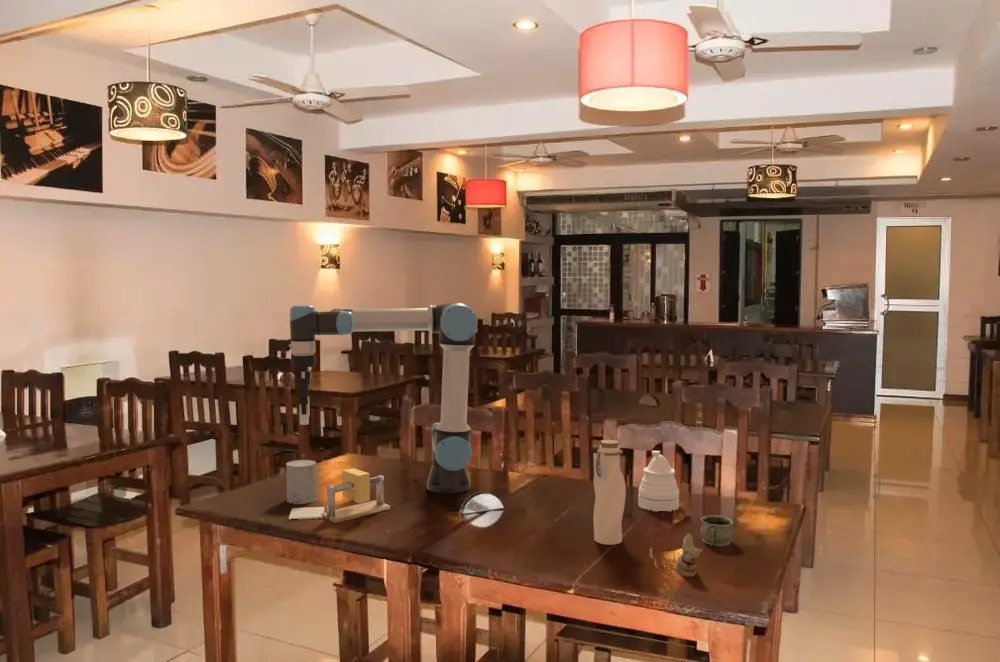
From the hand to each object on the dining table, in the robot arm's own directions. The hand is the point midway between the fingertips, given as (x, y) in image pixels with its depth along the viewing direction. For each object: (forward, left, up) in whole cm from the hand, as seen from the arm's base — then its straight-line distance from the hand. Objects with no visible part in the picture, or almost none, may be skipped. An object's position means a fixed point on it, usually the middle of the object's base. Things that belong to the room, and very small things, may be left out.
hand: (304, 420), depth 252 cm
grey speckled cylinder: (+2, -6, -28) cm, 28 cm away
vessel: (-116, +52, -28) cm, 130 cm away
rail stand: (-16, +11, -27) cm, 34 cm away
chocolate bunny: (-99, +72, -28) cm, 126 cm away
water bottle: (-86, +47, -28) cm, 102 cm away
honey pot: (-112, +17, -28) cm, 117 cm away
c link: (-16, +11, -23) cm, 30 cm away
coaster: (-1, +10, -27) cm, 29 cm away
